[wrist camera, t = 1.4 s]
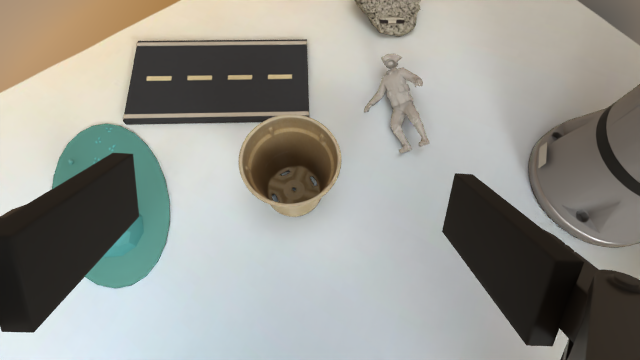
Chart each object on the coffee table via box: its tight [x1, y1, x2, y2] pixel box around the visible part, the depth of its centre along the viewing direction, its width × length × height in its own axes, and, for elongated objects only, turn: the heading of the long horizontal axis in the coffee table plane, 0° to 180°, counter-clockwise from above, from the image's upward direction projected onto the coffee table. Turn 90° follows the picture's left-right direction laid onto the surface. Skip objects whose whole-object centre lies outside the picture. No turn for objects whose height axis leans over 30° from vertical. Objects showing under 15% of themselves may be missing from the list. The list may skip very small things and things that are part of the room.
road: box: [123, 40, 309, 124], centre depth 47 cm, size 22×12×1 cm, turn 92°
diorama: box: [52, 124, 170, 288], centre depth 37 cm, size 12×20×9 cm, turn 23°
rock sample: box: [355, 0, 421, 36], centre depth 50 cm, size 10×8×9 cm
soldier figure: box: [364, 54, 430, 153], centre depth 45 cm, size 8×5×12 cm
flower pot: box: [239, 114, 341, 217], centre depth 38 cm, size 9×9×9 cm
